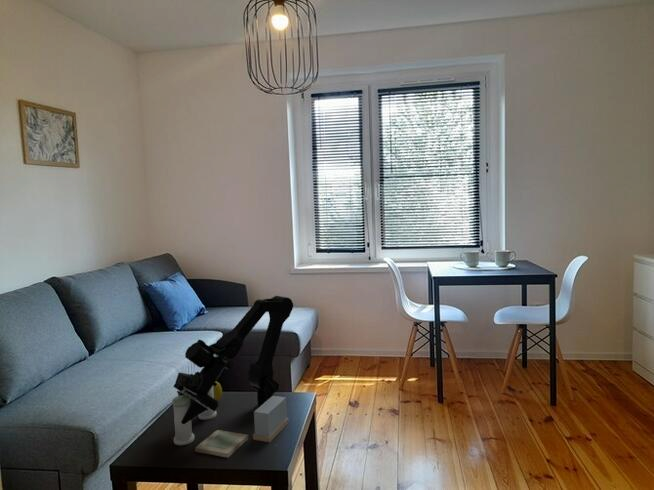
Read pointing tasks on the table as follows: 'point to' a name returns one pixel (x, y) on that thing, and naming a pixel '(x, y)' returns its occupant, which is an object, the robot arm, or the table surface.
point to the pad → (222, 443)
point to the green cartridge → (181, 430)
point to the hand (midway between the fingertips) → (178, 420)
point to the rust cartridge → (208, 413)
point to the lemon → (217, 391)
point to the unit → (270, 419)
